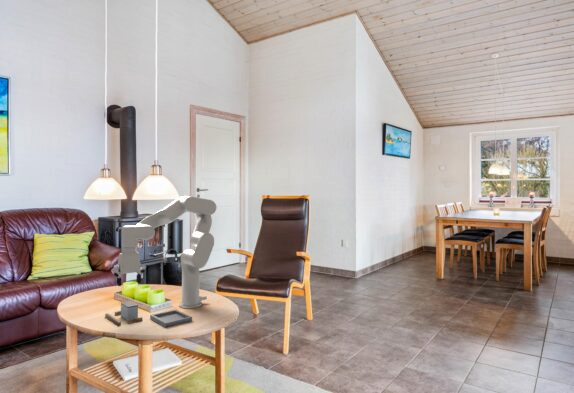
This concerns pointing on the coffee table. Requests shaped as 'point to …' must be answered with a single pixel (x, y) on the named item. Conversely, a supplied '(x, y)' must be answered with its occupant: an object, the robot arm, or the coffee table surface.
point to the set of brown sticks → (119, 321)
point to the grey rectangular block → (129, 310)
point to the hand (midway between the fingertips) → (129, 284)
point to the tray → (170, 318)
